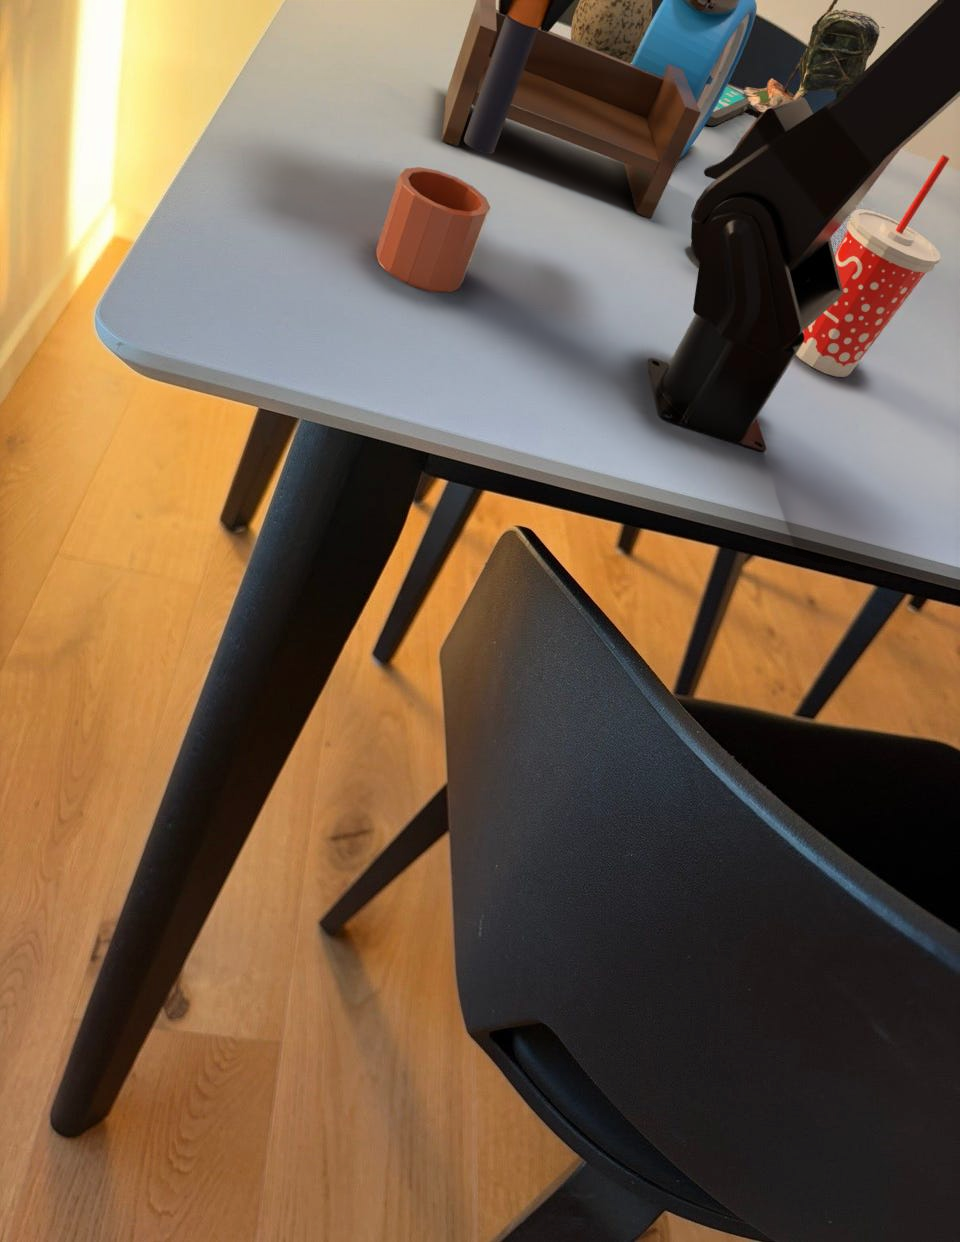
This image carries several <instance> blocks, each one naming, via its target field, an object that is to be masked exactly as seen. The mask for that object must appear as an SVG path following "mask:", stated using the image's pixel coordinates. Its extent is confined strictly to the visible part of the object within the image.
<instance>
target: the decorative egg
mask: <svg viewBox="0 0 960 1242" xmlns="http://www.w3.org/2000/svg"><path fill="white" fill-rule="evenodd" d="M652 19H653V0H579V2H578V3H577V6H576V8H575V10H574V13H573V17H572V22H571V26H570V27H571V28H570V40H573V41H575V42H578V43H580V44H583V45H585V46H588V47H590V48H593V49H595V50H598V51H600V52H602V53H605V54H607V55H610V56H612V57H615V58H617V59H620V60H622V61H625V62H627V63H630V64H631V63H632V61H633V59H634V56H635V54H636V52H637V49H638V47H639V45H640V43H641V41H642V39H643V37H644V35H645V33H646V31H647V29H648V27H649V25H650V23H651V21H652Z"/></svg>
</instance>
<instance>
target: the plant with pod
mask: <svg viewBox="0 0 960 1242" xmlns="http://www.w3.org/2000/svg"><path fill="white" fill-rule="evenodd" d="M838 1H839V0H833V1H832V3H831V4H830V5H829V7H828V9H827V10H826V12H824V13H823V14H821V16H820V17H819V18H818V19H817V20H816V22H815V23H814V24H813V25H812V27H811V33H810V36H809V40H808V43H807V45H806V49H805V51H804V52H803V54H802V57H800V60H799V61H798V63H797V64H796V66H795V69H794V70H793V72H792V73H791V75H790V76H789V78H788V80H787V82H786V84H785V85H783V84H781V83H780V82H779V81H777V80H775V79H774V78H770V79H768V80H767V84H766V86H765V87H764V88H755V87H749V86H748V85H746V84H744V83H742V85H743V86H742V89H743V91H742V94H744V96H745V98H746V99H747V100H749V101H751V103H750V107H752V108H754V109H756V111H758V112H761V113H763V112H765V111H766V110H767V109H769V108H771V107H773V106H775V105H781V104H784V103H787V102H790V101H793V100H796V99H799V98H805V96H806V95H807V93H809V92H819V91H830V92H832V93H836V96H835V99H836V98H837V97H838V96H839V95H840V94H841V93H842V92H843V91H845V90H846V89H847V88H848V87H849V86H850V85H851V84H852V83H853V82H854V81H855V80H856V79H857V78H858V77H859V76H860V75H861V74H862V73H863V72H864V71H865V70H866V69H867V63H868V59H869V58H870V56H871V55H872V54H873V52H874V51H875V47H876V46H877V44H878V40H879V37H880V34H881V33H880V26H879V24H878V23H877V22H876V20H875V19H874V18H873V17H872V16H871V15H869V14H866V13H863V12H857V11H854V10H847V9H842V10H839V9H835V10H834V7H835V5H837V3H838ZM881 29H885V27H884V26H881ZM798 72H799V81H800V83H799V88H798V89H797V91H796V93H795V94H793V93H792V92H791V91H790V90H789V89H788V85H789V83H790V82H791V80H792V79H793V78H794V77H795V75H796V74H797V73H798ZM744 96H743V97H744ZM744 100H745V99H744ZM748 103H749V102H748Z"/></svg>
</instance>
